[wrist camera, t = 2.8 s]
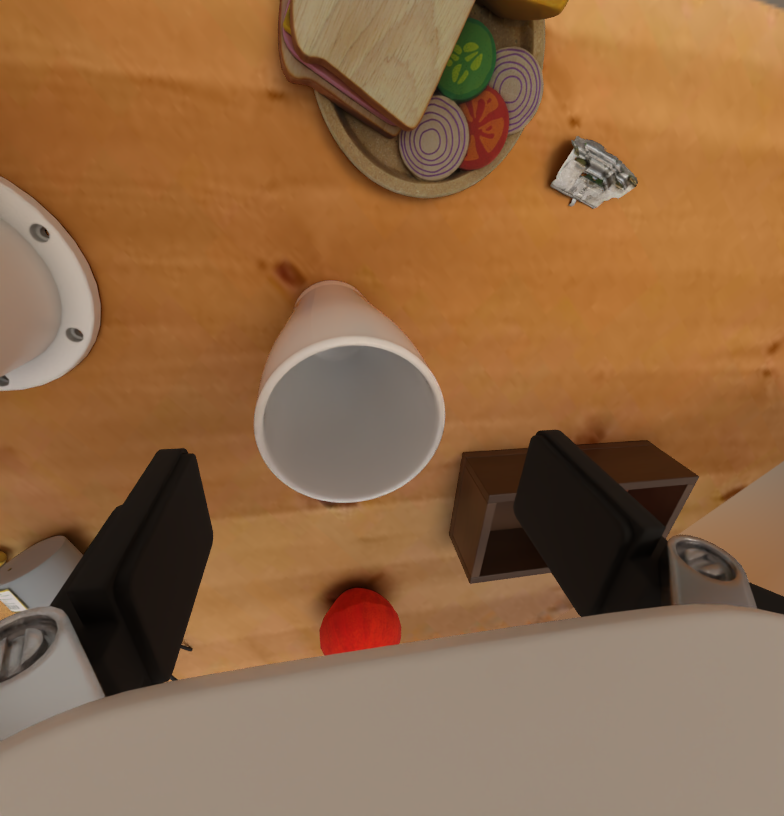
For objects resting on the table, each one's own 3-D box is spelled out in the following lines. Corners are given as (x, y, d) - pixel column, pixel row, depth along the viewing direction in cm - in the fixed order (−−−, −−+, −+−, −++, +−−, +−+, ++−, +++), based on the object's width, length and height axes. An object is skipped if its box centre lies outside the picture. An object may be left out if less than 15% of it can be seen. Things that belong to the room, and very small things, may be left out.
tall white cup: (301, 248, 24) (289, 299, 11) (396, 292, 26) (483, 377, 13) (268, 345, 26) (226, 483, 13) (358, 377, 28) (399, 521, 15)
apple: (394, 613, 43) (408, 685, 36) (323, 627, 41) (326, 704, 35) (392, 566, 39) (407, 637, 32) (314, 580, 38) (315, 656, 31)
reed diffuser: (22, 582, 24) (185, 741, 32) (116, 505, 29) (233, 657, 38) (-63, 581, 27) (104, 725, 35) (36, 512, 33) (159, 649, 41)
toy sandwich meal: (440, 242, 25) (465, 247, 20) (245, 77, 19) (224, 40, 15) (578, 43, 21) (641, 0, 17) (383, -225, 16) (405, -381, 12)
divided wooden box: (462, 452, 34) (489, 495, 29) (647, 440, 37) (699, 476, 32) (448, 534, 38) (469, 584, 33) (613, 516, 42) (655, 558, 37)
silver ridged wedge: (568, 122, 22) (531, 166, 25) (577, 150, 22) (538, 192, 24) (630, 161, 25) (591, 196, 27) (640, 186, 24) (599, 221, 27)
